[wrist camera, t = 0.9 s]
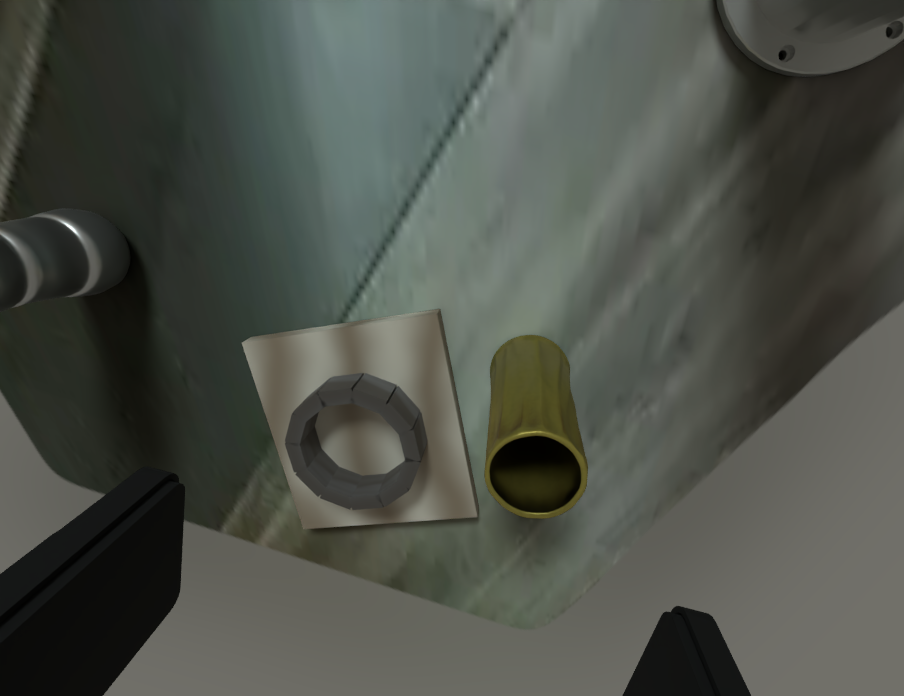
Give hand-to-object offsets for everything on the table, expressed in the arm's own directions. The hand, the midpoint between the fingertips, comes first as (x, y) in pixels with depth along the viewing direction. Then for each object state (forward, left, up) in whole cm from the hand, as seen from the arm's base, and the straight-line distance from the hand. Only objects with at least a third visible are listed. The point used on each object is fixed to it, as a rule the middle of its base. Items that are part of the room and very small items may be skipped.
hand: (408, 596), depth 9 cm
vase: (-2, +7, -29) cm, 30 cm away
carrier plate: (+12, +10, -29) cm, 33 cm away
